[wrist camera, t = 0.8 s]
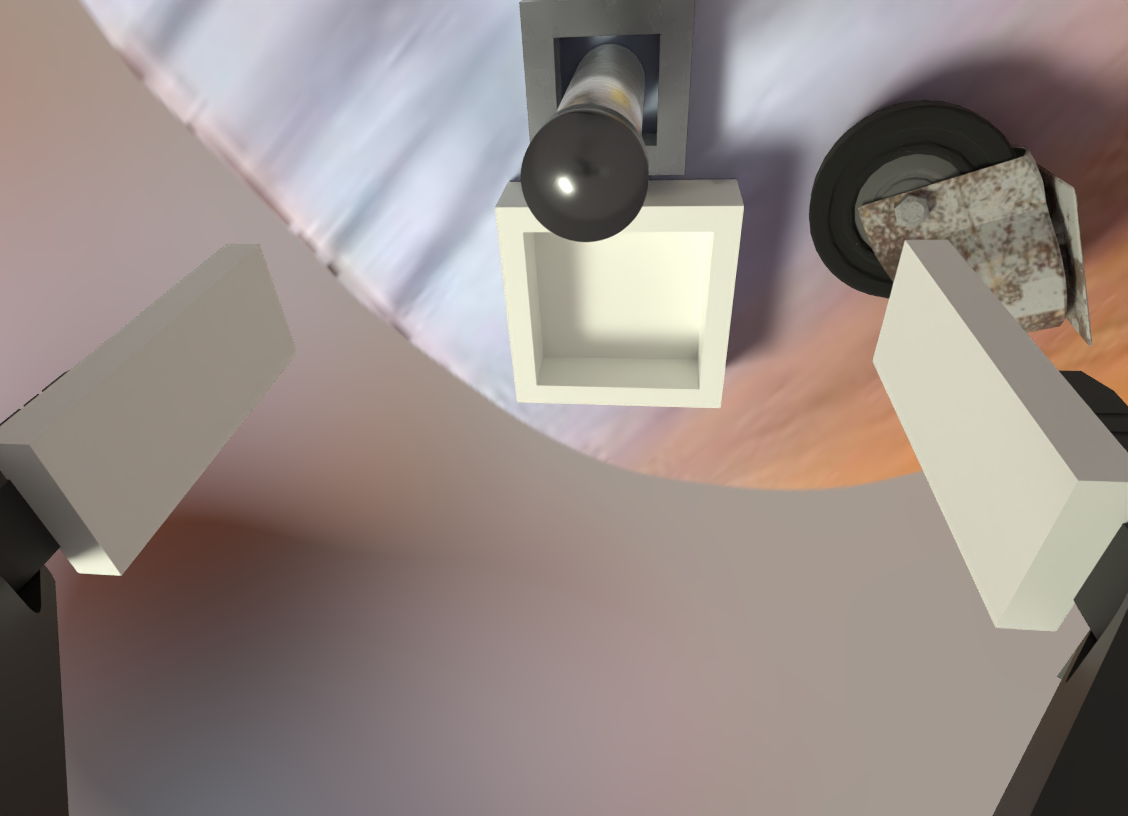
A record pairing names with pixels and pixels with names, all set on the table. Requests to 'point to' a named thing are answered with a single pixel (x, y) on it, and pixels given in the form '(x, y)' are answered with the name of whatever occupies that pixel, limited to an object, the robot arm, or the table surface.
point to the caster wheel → (951, 210)
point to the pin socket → (606, 8)
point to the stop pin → (591, 151)
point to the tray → (624, 300)
